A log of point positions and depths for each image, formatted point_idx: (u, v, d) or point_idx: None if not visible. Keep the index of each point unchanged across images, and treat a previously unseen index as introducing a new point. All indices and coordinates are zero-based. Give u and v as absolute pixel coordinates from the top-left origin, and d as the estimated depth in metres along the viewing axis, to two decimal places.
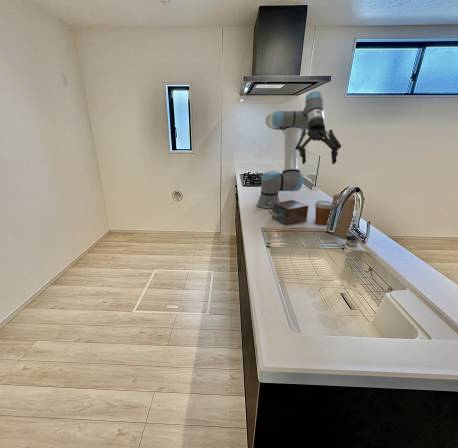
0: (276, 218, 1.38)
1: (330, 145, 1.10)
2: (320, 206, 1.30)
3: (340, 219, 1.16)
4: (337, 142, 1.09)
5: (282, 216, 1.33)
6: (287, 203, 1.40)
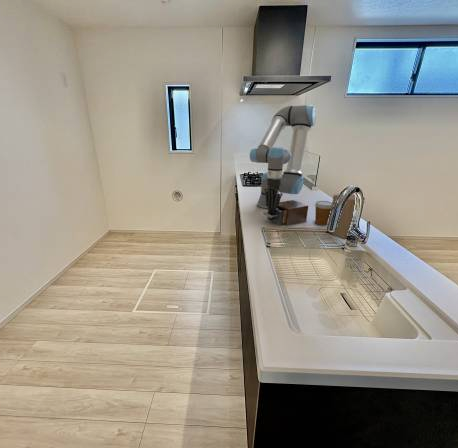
0: None
1: None
2: (320, 206, 1.30)
3: (340, 219, 1.16)
4: (274, 205, 1.27)
5: (277, 217, 1.32)
6: (287, 203, 1.40)
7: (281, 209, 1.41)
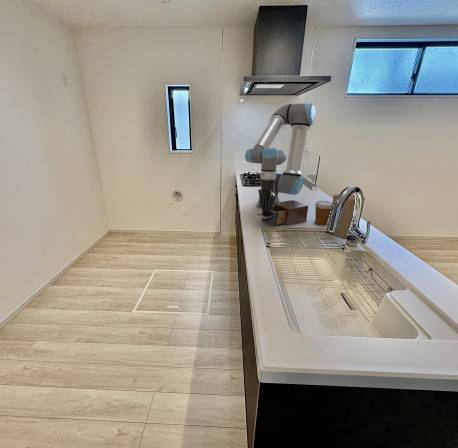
0: None
1: None
2: (320, 206, 1.30)
3: (340, 219, 1.16)
4: (268, 206, 1.26)
5: (271, 219, 1.30)
6: (287, 203, 1.40)
7: (276, 210, 1.40)
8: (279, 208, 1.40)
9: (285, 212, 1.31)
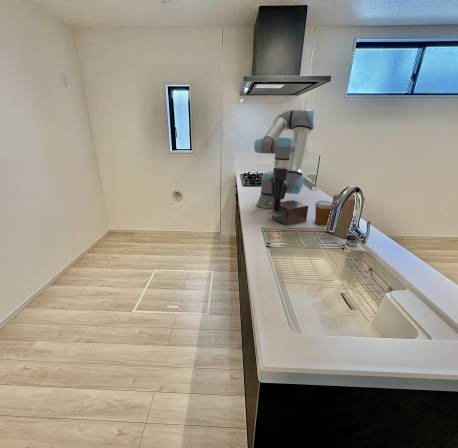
0: (276, 218, 1.38)
1: None
2: (320, 206, 1.30)
3: (340, 219, 1.16)
4: (280, 195, 1.27)
5: (282, 216, 1.33)
6: (287, 203, 1.40)
7: None
8: None
9: None
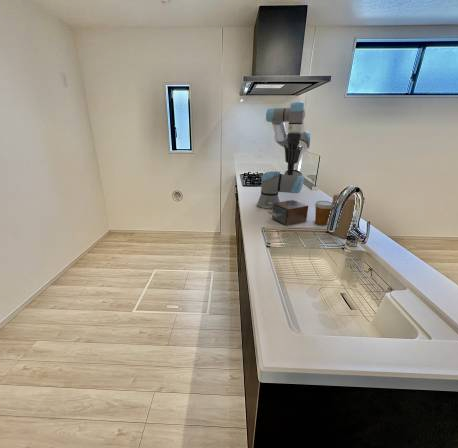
0: (276, 218, 1.38)
1: None
2: (320, 206, 1.30)
3: (340, 219, 1.16)
4: (294, 158, 1.36)
5: (282, 216, 1.33)
6: (287, 203, 1.40)
7: None
8: None
9: None
